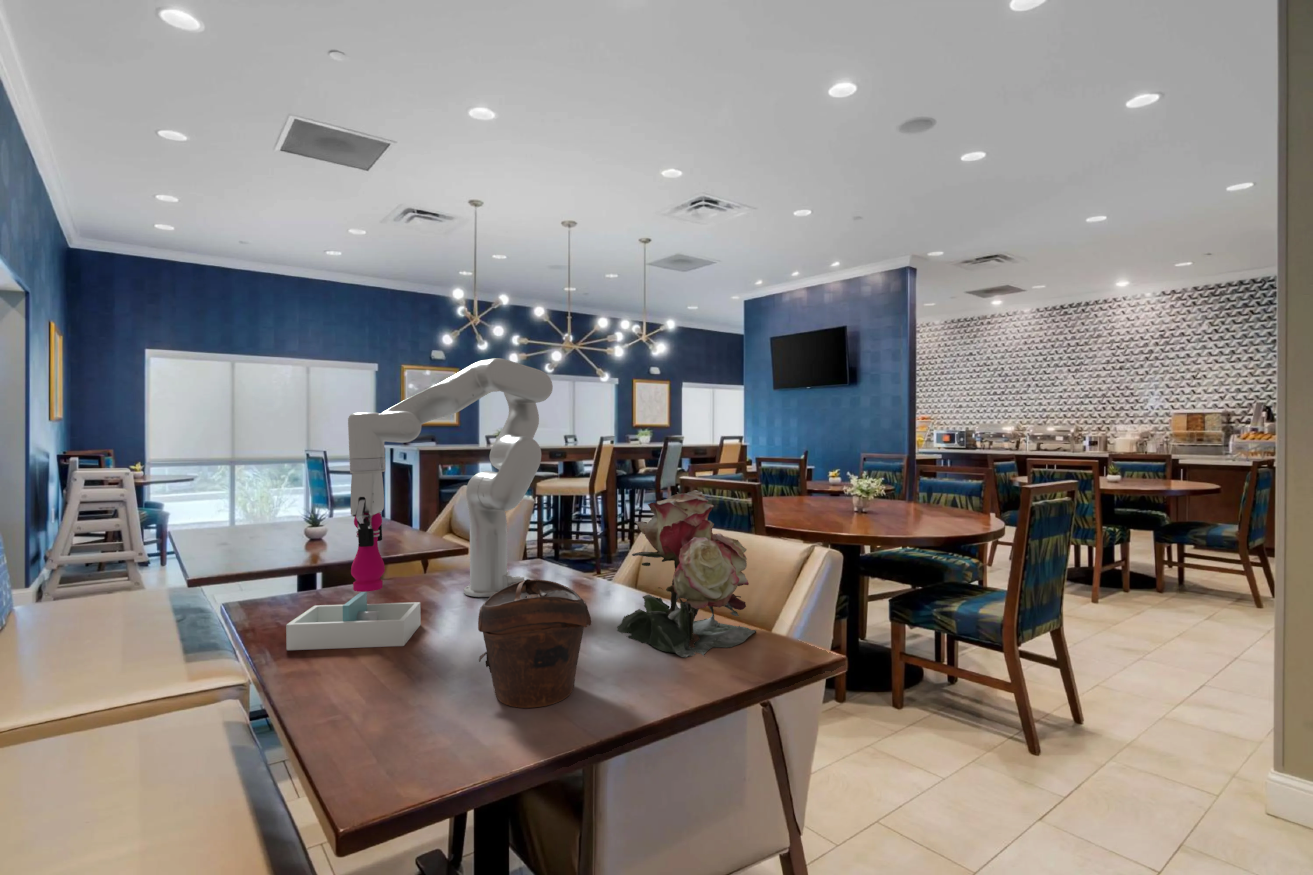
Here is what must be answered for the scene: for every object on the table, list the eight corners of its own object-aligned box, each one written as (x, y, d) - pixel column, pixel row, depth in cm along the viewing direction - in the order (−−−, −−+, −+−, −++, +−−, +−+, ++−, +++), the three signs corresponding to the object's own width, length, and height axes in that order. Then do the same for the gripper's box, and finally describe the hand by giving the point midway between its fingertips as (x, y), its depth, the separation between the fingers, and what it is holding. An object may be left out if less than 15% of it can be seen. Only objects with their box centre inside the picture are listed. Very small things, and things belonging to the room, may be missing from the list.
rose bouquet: (697, 667, 120) (697, 501, 120) (604, 629, 143) (603, 489, 142) (788, 638, 137) (788, 492, 136) (691, 608, 159) (691, 483, 159)
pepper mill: (361, 593, 149) (361, 504, 149) (344, 589, 153) (344, 502, 153) (391, 588, 155) (391, 502, 155) (374, 584, 159) (374, 500, 159)
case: (536, 661, 123) (534, 565, 122) (615, 689, 110) (614, 582, 109) (451, 693, 109) (449, 585, 108) (531, 729, 96) (529, 607, 96)
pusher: (384, 622, 143) (384, 591, 143) (368, 638, 132) (367, 604, 132) (361, 623, 143) (360, 591, 143) (342, 639, 132) (342, 605, 132)
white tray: (420, 624, 146) (420, 602, 146) (403, 645, 132) (403, 620, 132) (314, 628, 143) (314, 605, 143) (286, 650, 129) (286, 624, 129)
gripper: (362, 463, 162) (365, 537, 162) (337, 469, 145) (340, 551, 145) (394, 462, 163) (397, 536, 163) (373, 468, 145) (376, 550, 146)
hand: (370, 542), depth 154 cm, fingers closed on pepper mill, 5 cm apart
